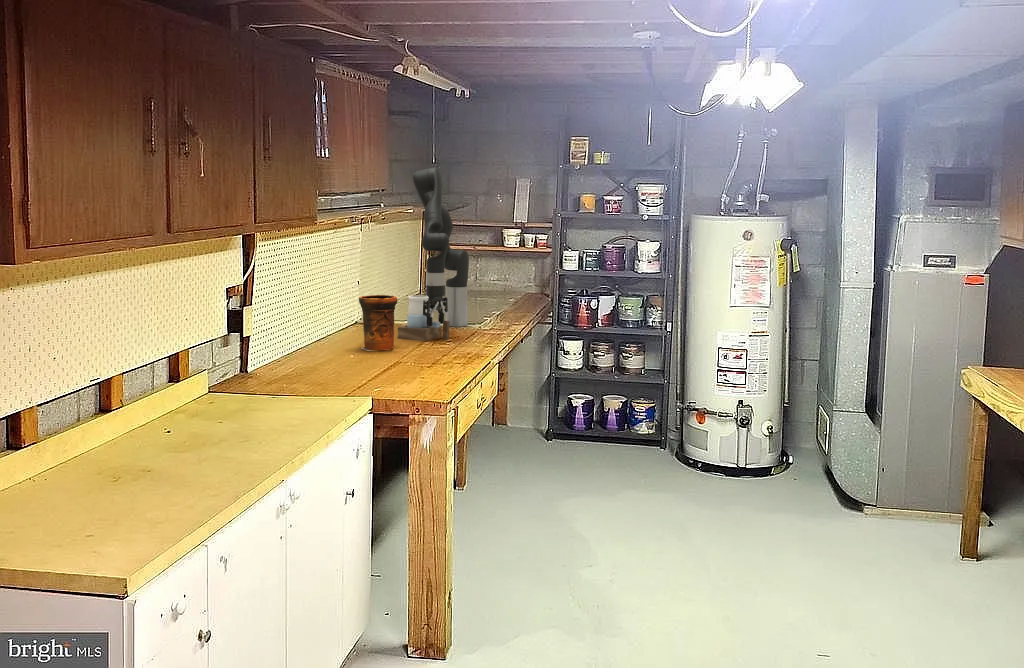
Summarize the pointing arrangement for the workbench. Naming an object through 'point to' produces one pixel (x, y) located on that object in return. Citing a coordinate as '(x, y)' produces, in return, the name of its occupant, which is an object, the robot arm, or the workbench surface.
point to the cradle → (424, 332)
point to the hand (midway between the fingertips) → (435, 324)
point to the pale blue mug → (419, 321)
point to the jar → (417, 304)
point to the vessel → (378, 321)
